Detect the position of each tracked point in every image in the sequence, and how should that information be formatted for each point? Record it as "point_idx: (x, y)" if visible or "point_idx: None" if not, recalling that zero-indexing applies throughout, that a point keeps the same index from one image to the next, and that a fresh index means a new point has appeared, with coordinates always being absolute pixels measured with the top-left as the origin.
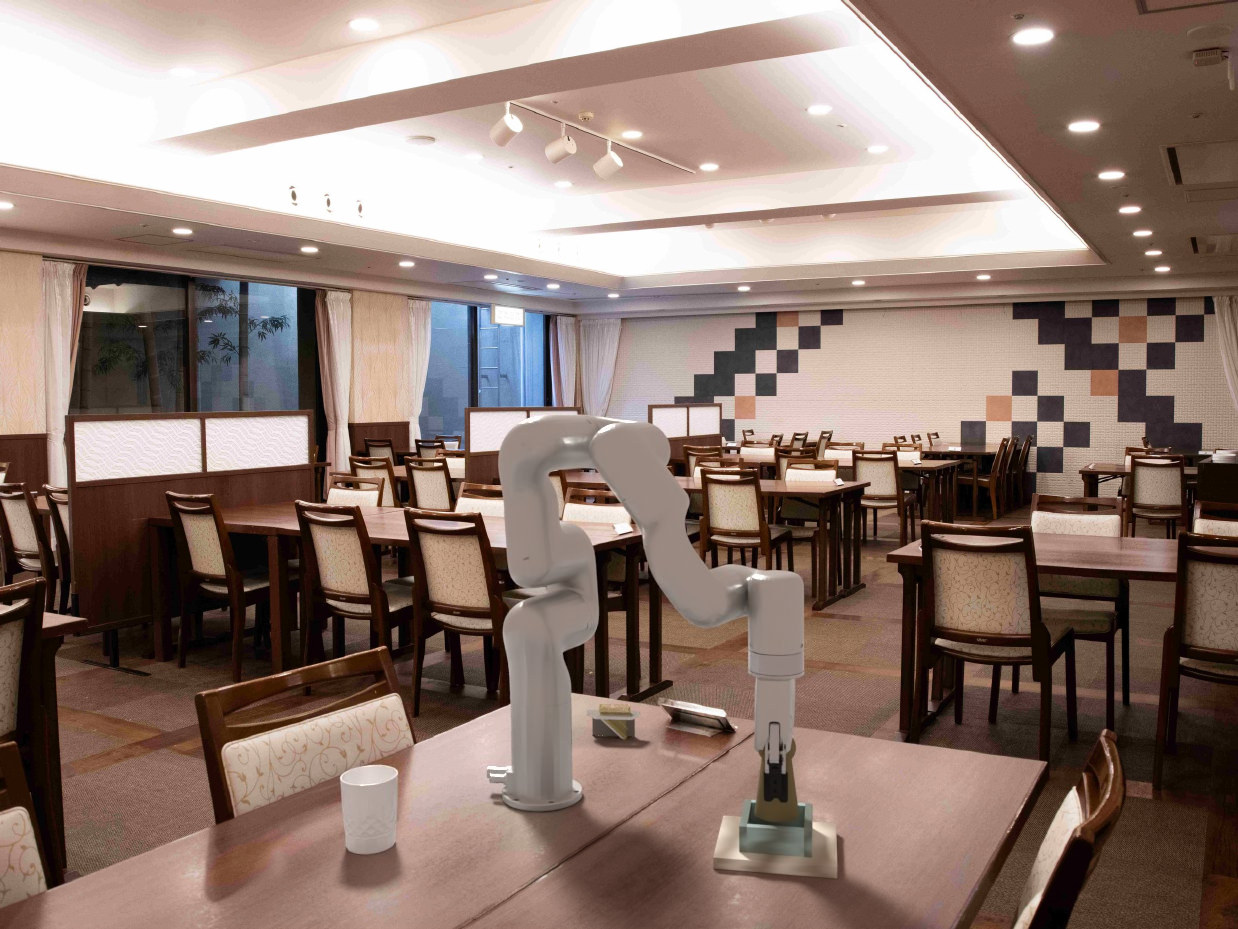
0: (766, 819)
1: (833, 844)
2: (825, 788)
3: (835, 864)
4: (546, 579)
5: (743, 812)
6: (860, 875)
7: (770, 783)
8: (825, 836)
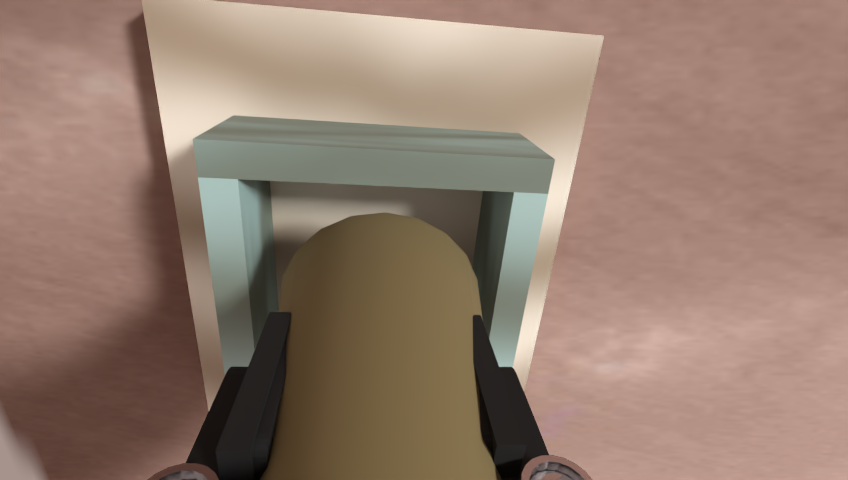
0: (287, 268)
1: None
2: (832, 363)
3: None
4: None
5: (379, 157)
6: None
7: (200, 432)
8: None
